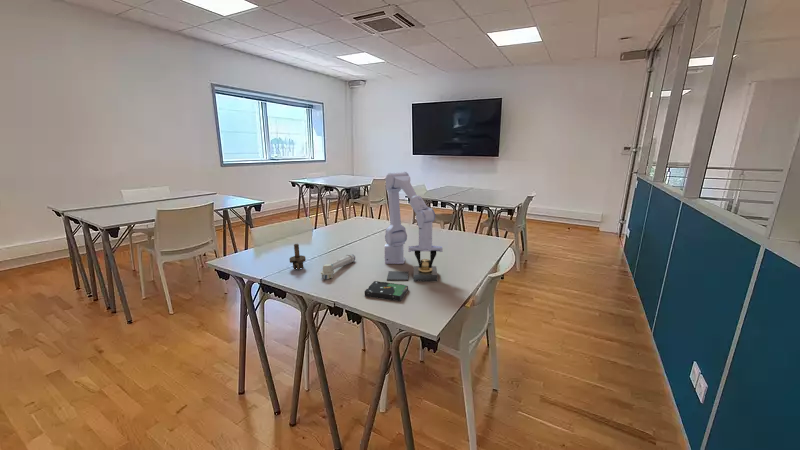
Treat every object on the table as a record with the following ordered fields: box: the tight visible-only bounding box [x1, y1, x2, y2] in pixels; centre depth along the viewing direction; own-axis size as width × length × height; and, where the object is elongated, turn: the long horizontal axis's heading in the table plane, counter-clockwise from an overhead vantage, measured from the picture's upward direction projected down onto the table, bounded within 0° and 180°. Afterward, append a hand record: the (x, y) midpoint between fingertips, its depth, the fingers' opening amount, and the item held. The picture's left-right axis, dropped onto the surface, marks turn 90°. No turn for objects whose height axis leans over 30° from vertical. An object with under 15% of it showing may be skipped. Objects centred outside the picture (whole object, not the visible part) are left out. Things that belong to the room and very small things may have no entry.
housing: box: [413, 265, 438, 283], centre depth 142 cm, size 10×10×3 cm
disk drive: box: [364, 280, 409, 302], centre depth 127 cm, size 10×3×15 cm
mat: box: [386, 270, 409, 282], centre depth 143 cm, size 9×9×1 cm
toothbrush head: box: [320, 253, 356, 280], centre depth 151 cm, size 5×7×25 cm
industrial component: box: [289, 243, 307, 270], centre depth 153 cm, size 9×7×12 cm
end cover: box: [418, 258, 432, 273], centre depth 141 cm, size 6×6×8 cm
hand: (425, 267), depth 141 cm, fingers closed on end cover, 4 cm apart
